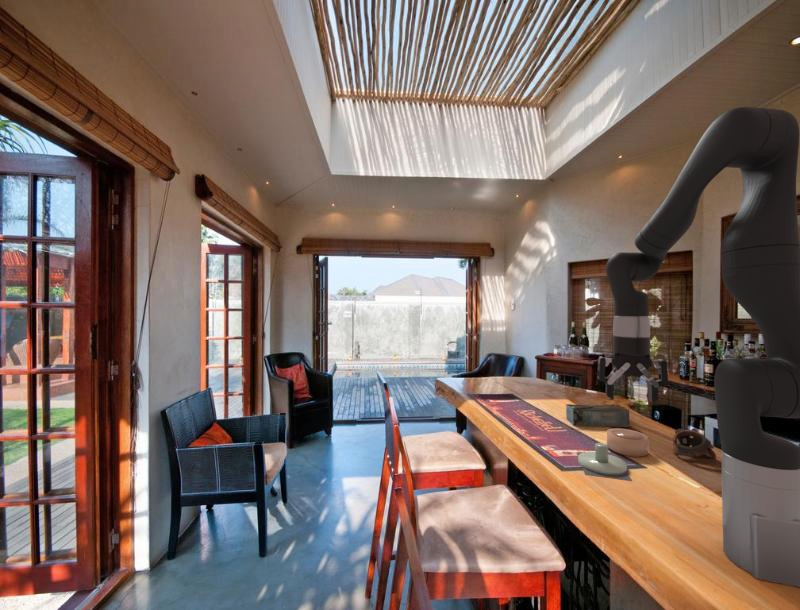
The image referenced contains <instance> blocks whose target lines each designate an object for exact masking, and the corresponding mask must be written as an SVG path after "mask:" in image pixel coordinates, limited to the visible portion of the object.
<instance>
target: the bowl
mask: <svg viewBox="0 0 800 610" xmlns="http://www.w3.org/2000/svg"><path fill="white" fill-rule="evenodd" d="M606 445H608V449H609V450H611V451H612V452H615V453H616V454H620V455H622V456H627V457H628V456H629V457H639V458H640V457H643V456H647V455H648V454H649V436H648V435H646V434H644V433H643V432H639V431H636V430H632V429H626V428H620V427H614V428H609V429H607V430H606Z"/></svg>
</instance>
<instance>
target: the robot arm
mask: <svg viewBox="0 0 800 610" xmlns="http://www.w3.org/2000/svg"><path fill="white" fill-rule="evenodd" d="M799 148H800V126H799V122H798V119H797V118H796V117H795V116H794V114H792V113H791V112H789V111H788V110H787V111H786V110H784V109H778V108H768V107H767V108H766V107H754V106H753V107H752V106H740V107H734V108H732V109H728V110H727V111H725V112H723V113H721V114H720V115H719V116H718V117H716V119H715V120H714V121H712V122H711V124H710V125H709V126H708V128H707V129H706V130H705V132H704V133H703V135H702V136H701V137H700V139H699V141H698V143H697V144H696V146H695V148H694V149H693V151H692V152H691V154H690V156H689V157H688V159H687V162H686V163H685V165H684V166H683V168H682V170H681V172H680V173H679V175H678V177H677V178H676V180H675V182H674V184H673V185H672V187H671V189H670V190H669V192H668V194H667V196H666V197H665V199H664V200H663V202H661V205H660V206H659V207H658V208H657V210H656V211H655V213H654V214H652V217H650V218H649V220H648V221H647V222H646V223H645V225H644V226H643V227H642V228H641V230H640V231H639V232H638V234H637V235H636V237H635V238H634V245H635V247H636V249H638V250H639V251H638V252H627V251H626V252H616V253H614V254H612V255H611V256H610V257H609V259H608V260H607V262H606V266H605V272H606V273H605V274H606V277H607V281H608V285H609V287H610V291H611V293H612V298H613V303H614V304H613V309H614V310H613V323H612V355H611V357H603V356H602V355H599V357H598V360H597V361H598V362H597V375H596V376H597V377H596V378H597V379H598V381H599V382H602V383H604V384H605V396H606V397H607V398H608V399H609V400H611V401H613V400H615V396H614V390H615V389H614V388H615V387H614V383H615V382H616V381H617V380H618V379H619V378H621V377H622V376H624V377H635V378H636V377H637V378H640V377H643V378H644V379H645V380H646V381H647V382H648V384H649V385H648V401H649V403H651V404H655V403H656V402H657V401H658V400H659V388H660V387H663V386H664V387H666V386H668V385H669V376H668V373H669V372H668V362H667V361H666V360H665V359H661V358H658V359H652V357H651V323H650V315H649V314H650V313H649V312H650V310H649V309H650V305H649V304H650V301H649V299H650V298H649V295H648V293H646V292H645V291H640V290H637V289H636V287H635V286H634V283H633V282H645V281H648V280H650V279H651V278H653V277H654V276H655V275H656V274H657V273H658V271H659V270H660V268H661V266H662V265H663V263H664V260H665V259H666V257H667V254H668V252H669V250H670V249H672V248H673V246H675V245H676V244H677V242H679V240H681V238H682V237H683V236H684V235H685V234H687V233H686V232H688V230H689V229H690V227H691V226H692V225H693V223H694V220H695V218H696V215H697V210H698V207H699V203H700V199H701V196H702V194H703V193H704V191H705V189H706V187H708V185H709V184H710V183H711V182H712V180H713V179H714V178H715V177H717V175H719V174H720V173H721V172H722V171H723V170H724V169H726V168H733V169H735V168H736V169H739V170H740V173H741V179H742V198H741V199H742V200H741V203H740V206H739V208H738V211H737V213H736V214H735V216H734V217H733V219H732V221H731V223H729V226H728V228H727V230H726V232H725V233H724V236H723V239H722V240H721V244H720V259H721V260H720V262H721V263H720V264H721V276H722V281H723V284H724V286H725V288H726V289H727V291H728V292H729V294H730V295H731V296H732V297H733V299H734V300H735V301H736V302H737V303H738V304H739V305H740V306H741V308H742V309H744V310H745V312H746V313H747V314H748V315H749V316H750V318H752V321H754V322H755V324H756V326H757V327H758V329H759V331H760V334H761V336H762V340H763V344H764V348H765V358H743V357H742V358H740V357H739V358H738V357H737V358H726V359H723V360H722V361H721V362H719V363H718V365H717V367H716V369H715V371H714V378H713V379H714V383H713V385H714V398H715V407H716V421H717V423H716V424H717V429H718V433H719V438H720V445H721V447H720V448H721V452H720V453H721V501H722V502H721V505H722V506H721V511H722V513H721V514H722V516H721V517H722V542H723V543H722V544H723V549H722V550H723V553H724V555H726V558H728V559H729V560H730V561H731V562H733V563H734V564H736V565H737V566H738V567H739V568H741V569H743V570H745V571H747V572H749V573H750V574H751V575H752V576H753V577H754V578H755V579H757V580H763V581H766V582H767V581H768V582H771V583H777V584H782V585H787V586H792V587H797V588H800V446H798V445H797V444H795V443H794V442H792V441H789V440H787V439H785V438H782V437H779V436H776V435H774V434H770V433H768V432H766V431H764V430H763V428H762V423H761V417H764V418H765V417H768V418H771V417H772V418H780V419H781V418H784V419H800V235H799V234H800V233H799V225H798V224H799V223H798V222H799V221H798V202H797V201H798V200H797V175H798V174H797V171H798V160H799ZM610 363H611V364H612V365H613V367H614V368H613V369H612V370H611V371H610V374H609V375H607V377H606V367H608V366H609V365H610ZM652 366H654V368H655V369H657V378H658V379H655V378H654V377H653V375H652V374H651V373H650V372H649V369H650V368H651V367H652Z"/></svg>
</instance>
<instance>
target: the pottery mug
mask: <svg viewBox="0 0 800 610" xmlns="http://www.w3.org/2000/svg"><path fill="white" fill-rule="evenodd" d="M674 431H675V432H674V433H675V434H674V435H673V436H672V446H673V447H672V452H673V454H674V456H675V455H676V456H678V457H679V456H683V457H689V458H690V457H691V458H694V457H700V456H703V455H706V456H710V457H711V458H712V459H713V460H714V459H715V460H717V454H716V453H715V451H714V450H713V449H715V447H714V445H713V444H712V442H711V441H710V440H709V439H708V438H707V437H706V436H705V435H703V433H701V432H699V431H696V430H693V429H685V430H684V429H682V428H678V429H676V430H674ZM676 456H675V457H676ZM715 460H714V461H715Z"/></svg>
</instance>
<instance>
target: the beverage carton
mask: <svg viewBox="0 0 800 610" xmlns="http://www.w3.org/2000/svg"><path fill="white" fill-rule="evenodd" d="M565 409H566V411H565V416H566V420H567V421H568V422H569V423H570V424H571V425H572V426H574V427H575V426H577V427H600V428H601V427H604V428H606V427H612V428H630V427H631V426H630V425H631V423H630V410H629V409H627V408H625V407H623V406H621V405H620V404H614V403H613V404H612V403H611V404H574V403H573V404H570V403H569V404H566V405H565Z"/></svg>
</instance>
